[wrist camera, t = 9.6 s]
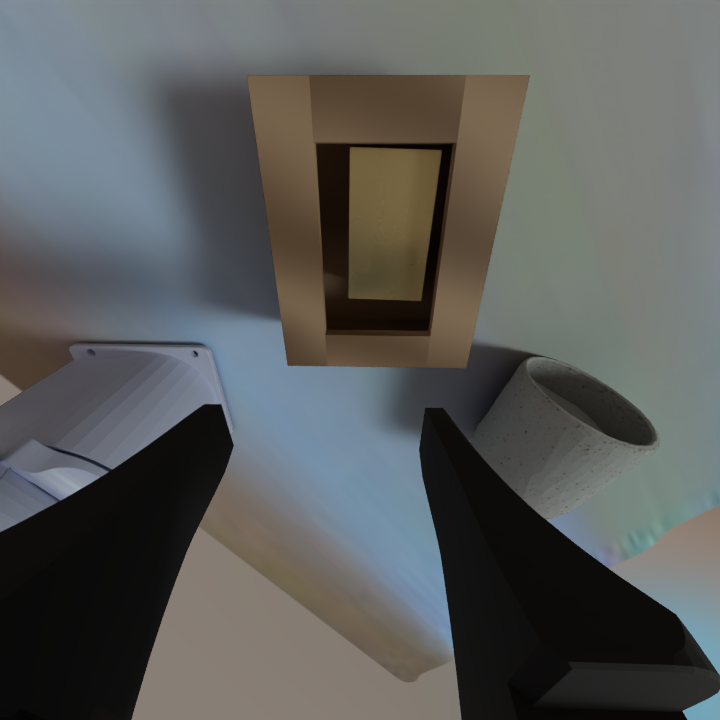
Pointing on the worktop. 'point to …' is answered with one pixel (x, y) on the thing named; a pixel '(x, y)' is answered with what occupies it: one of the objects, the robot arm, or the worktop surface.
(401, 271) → the yellow rectangular block
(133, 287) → the worktop surface
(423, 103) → the walnut box
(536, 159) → the worktop surface
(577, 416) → the ceramic mug
